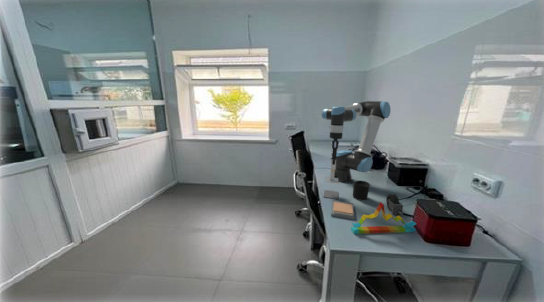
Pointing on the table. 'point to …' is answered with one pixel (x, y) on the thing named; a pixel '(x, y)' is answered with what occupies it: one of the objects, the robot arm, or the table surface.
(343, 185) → the table surface
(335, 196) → the mat
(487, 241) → the table surface
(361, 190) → the pen holder
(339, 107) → the robot arm
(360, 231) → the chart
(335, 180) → the wooden post on base
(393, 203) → the caster wheel
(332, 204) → the slate board
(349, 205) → the tile
